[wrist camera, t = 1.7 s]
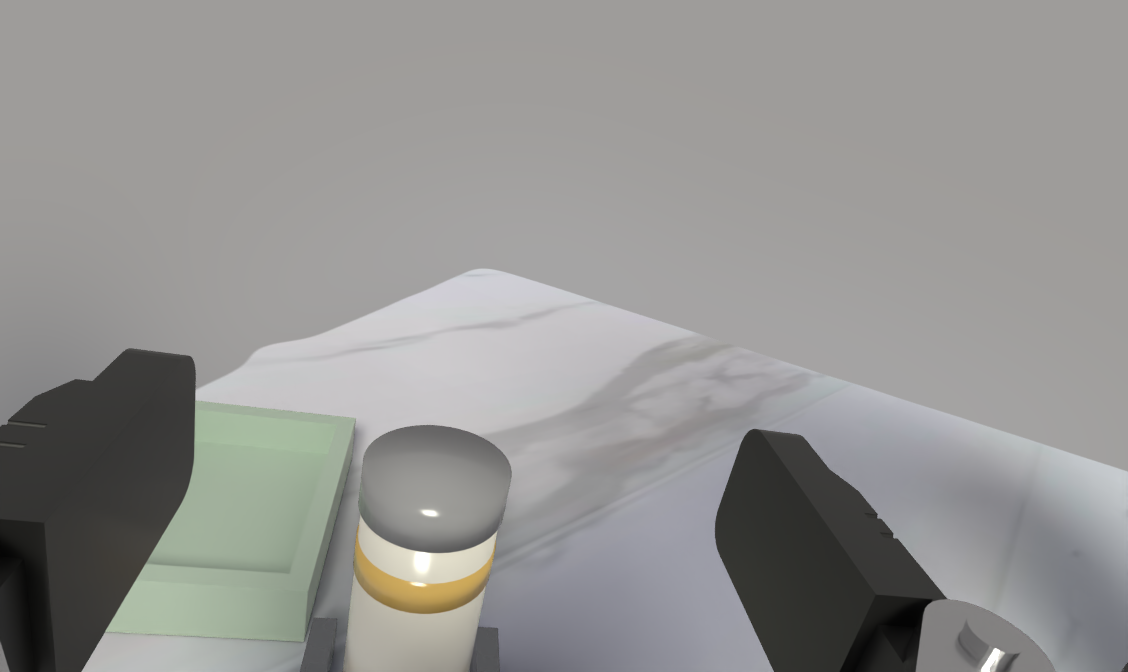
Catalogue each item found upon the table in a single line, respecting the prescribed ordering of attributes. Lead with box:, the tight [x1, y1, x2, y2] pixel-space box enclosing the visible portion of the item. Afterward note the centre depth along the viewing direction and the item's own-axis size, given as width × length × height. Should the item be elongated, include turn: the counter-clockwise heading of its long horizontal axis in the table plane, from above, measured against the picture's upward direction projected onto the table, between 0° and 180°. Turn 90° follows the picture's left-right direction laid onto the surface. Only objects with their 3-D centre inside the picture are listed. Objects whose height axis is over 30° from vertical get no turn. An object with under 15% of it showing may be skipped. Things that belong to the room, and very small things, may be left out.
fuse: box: [343, 425, 512, 672], centre depth 26 cm, size 5×5×14 cm
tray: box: [105, 401, 356, 642], centre depth 38 cm, size 11×15×3 cm
